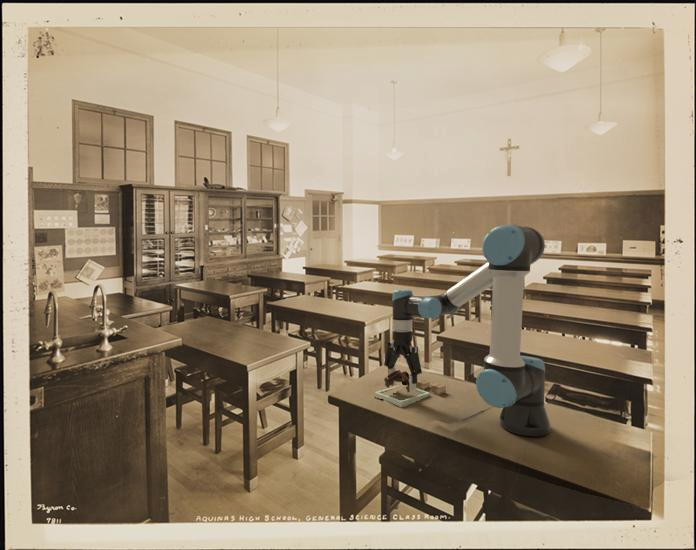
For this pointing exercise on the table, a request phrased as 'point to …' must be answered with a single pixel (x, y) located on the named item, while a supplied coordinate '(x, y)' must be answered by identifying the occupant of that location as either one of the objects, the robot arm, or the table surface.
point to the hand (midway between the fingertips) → (402, 388)
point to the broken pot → (398, 379)
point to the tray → (401, 402)
